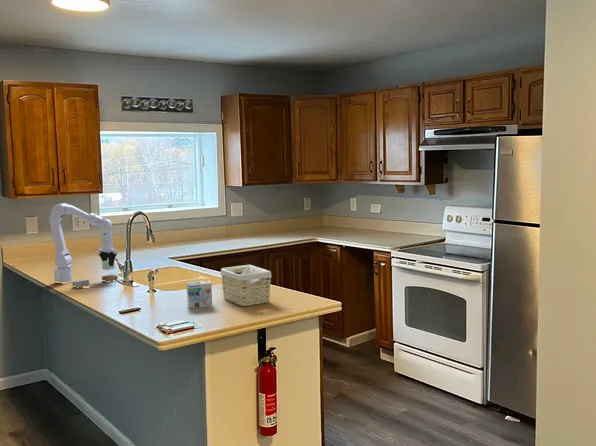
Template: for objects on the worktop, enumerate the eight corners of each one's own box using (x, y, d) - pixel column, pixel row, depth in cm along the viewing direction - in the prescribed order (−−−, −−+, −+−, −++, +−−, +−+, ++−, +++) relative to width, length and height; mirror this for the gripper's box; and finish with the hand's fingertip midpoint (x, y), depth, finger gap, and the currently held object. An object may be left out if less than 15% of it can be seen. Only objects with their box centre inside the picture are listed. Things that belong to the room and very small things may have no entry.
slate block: (72, 288, 310) (72, 281, 310) (82, 286, 315) (81, 279, 315) (79, 288, 307) (79, 281, 306) (89, 286, 312) (88, 279, 311)
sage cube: (102, 269, 324) (101, 261, 323) (109, 267, 327) (108, 259, 327) (107, 269, 321) (107, 261, 321) (114, 268, 325) (113, 260, 324)
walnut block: (102, 282, 325) (101, 276, 324) (111, 280, 329) (111, 274, 329) (108, 283, 321) (107, 277, 321) (117, 281, 326) (117, 275, 325)
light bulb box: (188, 309, 258) (187, 284, 257) (187, 305, 265) (186, 282, 263) (213, 306, 261) (211, 282, 260) (210, 303, 268) (209, 280, 266)
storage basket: (220, 298, 277) (219, 267, 276) (251, 293, 285) (250, 263, 283) (240, 308, 256) (239, 275, 255) (273, 303, 264) (272, 271, 263)
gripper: (121, 240, 322) (123, 265, 323) (104, 239, 330) (105, 263, 331) (111, 242, 316) (112, 267, 318) (93, 241, 324) (95, 265, 326)
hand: (108, 265), depth 324 cm, fingers closed on sage cube, 4 cm apart
